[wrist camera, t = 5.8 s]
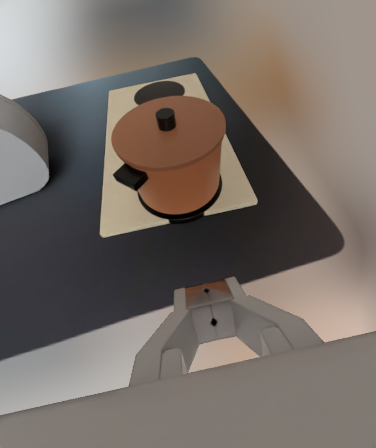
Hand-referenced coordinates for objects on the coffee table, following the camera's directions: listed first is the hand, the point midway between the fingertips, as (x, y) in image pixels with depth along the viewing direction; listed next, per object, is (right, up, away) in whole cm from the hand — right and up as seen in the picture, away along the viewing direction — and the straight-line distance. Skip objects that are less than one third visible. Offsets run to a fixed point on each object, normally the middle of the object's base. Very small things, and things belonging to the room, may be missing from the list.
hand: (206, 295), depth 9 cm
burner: (-7, +33, +35) cm, 48 cm away
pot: (-2, +10, +19) cm, 21 cm away
